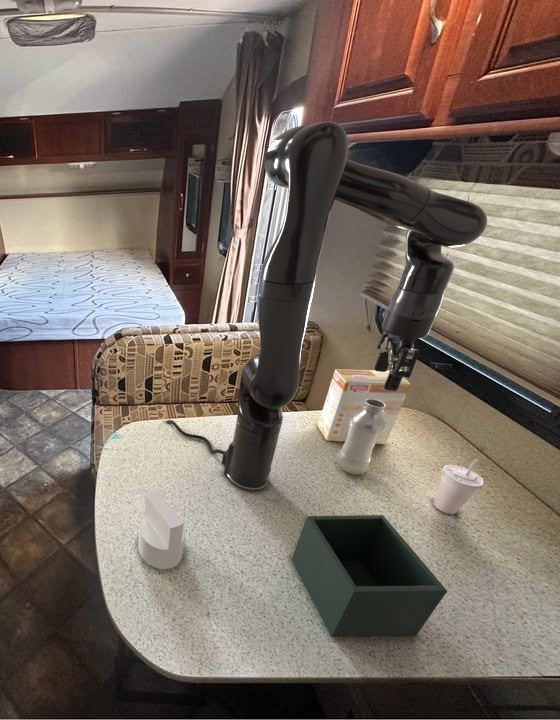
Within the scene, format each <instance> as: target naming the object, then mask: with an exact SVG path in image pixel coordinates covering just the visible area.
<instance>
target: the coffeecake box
mask: <svg viewBox="0 0 560 720" xmlns="http://www.w3.org/2000/svg"><path fill="white" fill-rule="evenodd" d="M389 371H390V370H387V371H386V372H380V371H375V369H374V370H373V369H371V370H370V369H369V370H368V369H346V368H345V369H344V368H342V369H340V368H335V369H334V372H333V375H332V379H331V381H330V385H329V389H328V391H327V395H326V398H325V401H324V404H323V407H322V411H321V414H320V417H319V421H318V424H317V427H318V429H319V431H320V432H321V433H322V435H323V438H324V439H325V441H328V442H331V441H332V442H344V443H345V441H346V439H347V436H348V432H349V426H350V419H351V416H352V415H353V414H354V413H355V412H357V411H359V410H361V409H363V408H362V406H363V404H364V403H365V401H366V400H367V399H375V400H379V401H381V402H383V403H384V404H385V408H384V412H383V413H382V414H381V415H382V417H383V419H384V421H385V428H384V430H383V432H382V433H381V434H380V436H379V437H378V439H377V441H376V443H375V445H386V443H387V442H388V439H389V437H390V434H391V432H392V430H393V428H394V426H395V423H396V421H397V418H398V416H399V413H400V411H401V409H402V406H403V405H404V401H405V399H406V397H407V395H408V392H409V390H410V387H411V386H412V384H411V383H410V382H409V381H408V380H407V378H405V377H403V378H402V380H401V383H400V385H399V387H398V390H397V391H391V390H386V389H385V388H384V385H385V382H386V380H387V377H388V374H389V373H390V372H389Z"/></svg>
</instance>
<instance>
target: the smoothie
mask: <svg viewBox="0 0 560 720" xmlns="http://www.w3.org/2000/svg"><path fill="white" fill-rule="evenodd" d="M478 462H479V460H478V459H477V458H474V459H473V460H472V462H471V464H470V465H469V466H468V468H467V467H465V466H461V465H458V464H447V465H445V466H443V468H442V469H441V478H440V481H439V485H438V488H437V491H436V495H435V497H434V500H433V505H434V507H435V508H436V509H438V510H439V511H441V512H442V513H445V514H448V515H455V514H456V513H457V512H458V511H459V510H460V509H461V508H462V507H463V506H464V505H465V504H466V503H467V502H468V501H469V499H471V497H473V495H474V494H475V493H477V491H479V490H481V489H483V487H484V485H485V480H484V479H483V478H482V476H481V475H480V474H478V473H476V472H475V471H473V470H474V469H475V467H476V465H477V463H478Z"/></svg>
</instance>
